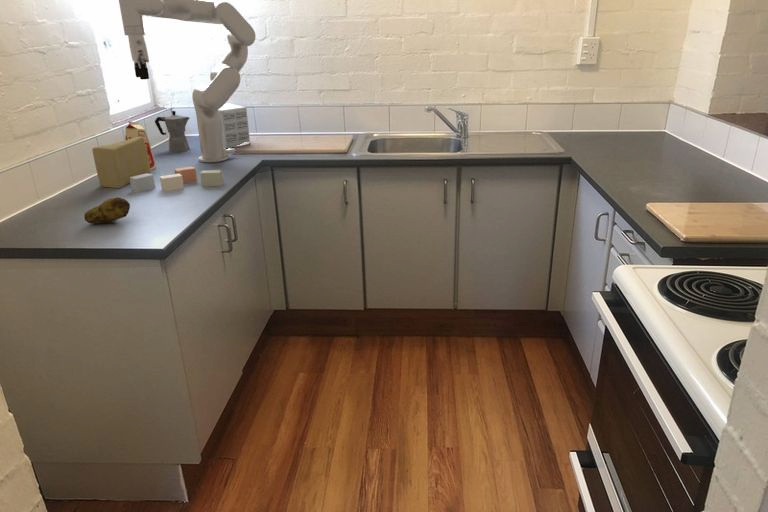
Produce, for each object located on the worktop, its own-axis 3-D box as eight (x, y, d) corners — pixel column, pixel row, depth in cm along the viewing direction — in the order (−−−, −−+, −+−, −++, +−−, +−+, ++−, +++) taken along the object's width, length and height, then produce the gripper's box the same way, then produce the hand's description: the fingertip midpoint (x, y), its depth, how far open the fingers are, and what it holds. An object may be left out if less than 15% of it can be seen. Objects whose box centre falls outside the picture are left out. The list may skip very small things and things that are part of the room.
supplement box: (209, 143, 280) (204, 106, 273) (233, 139, 288) (229, 103, 281) (226, 149, 268) (221, 109, 261) (251, 144, 277) (247, 106, 269)
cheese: (139, 172, 231) (133, 135, 225) (159, 173, 228) (153, 136, 222) (98, 186, 212) (90, 146, 206) (119, 189, 209) (111, 148, 203)
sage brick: (223, 183, 215) (221, 170, 213) (220, 185, 212) (219, 172, 210) (204, 183, 215) (202, 170, 213) (201, 186, 211) (200, 173, 209)
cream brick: (181, 186, 211) (179, 173, 209) (184, 189, 208) (182, 175, 206) (161, 189, 208) (159, 176, 206) (164, 192, 205) (162, 178, 203)
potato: (100, 217, 180) (95, 193, 177) (137, 219, 177) (132, 195, 174) (82, 226, 172) (76, 201, 169) (120, 229, 170) (115, 203, 167)
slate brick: (149, 186, 212) (147, 173, 210) (155, 188, 210) (153, 174, 208) (132, 190, 207) (129, 177, 205) (137, 192, 205) (135, 179, 203)
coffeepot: (194, 147, 273) (189, 108, 266) (193, 151, 264) (187, 111, 257) (161, 148, 270) (154, 110, 263) (158, 153, 261) (151, 113, 254)
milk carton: (145, 172, 230) (136, 122, 222) (124, 171, 232) (115, 121, 224) (157, 166, 238) (149, 118, 230) (138, 166, 240) (129, 117, 232)
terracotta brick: (194, 178, 221) (192, 166, 219) (197, 181, 218) (195, 168, 216) (176, 181, 217) (174, 168, 215) (178, 184, 214) (176, 171, 212)
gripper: (149, 31, 211) (156, 79, 218) (141, 30, 225) (148, 75, 231) (127, 31, 207) (136, 80, 214) (120, 30, 221) (128, 76, 228)
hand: (142, 78), depth 223 cm, fingers open, 9 cm apart
